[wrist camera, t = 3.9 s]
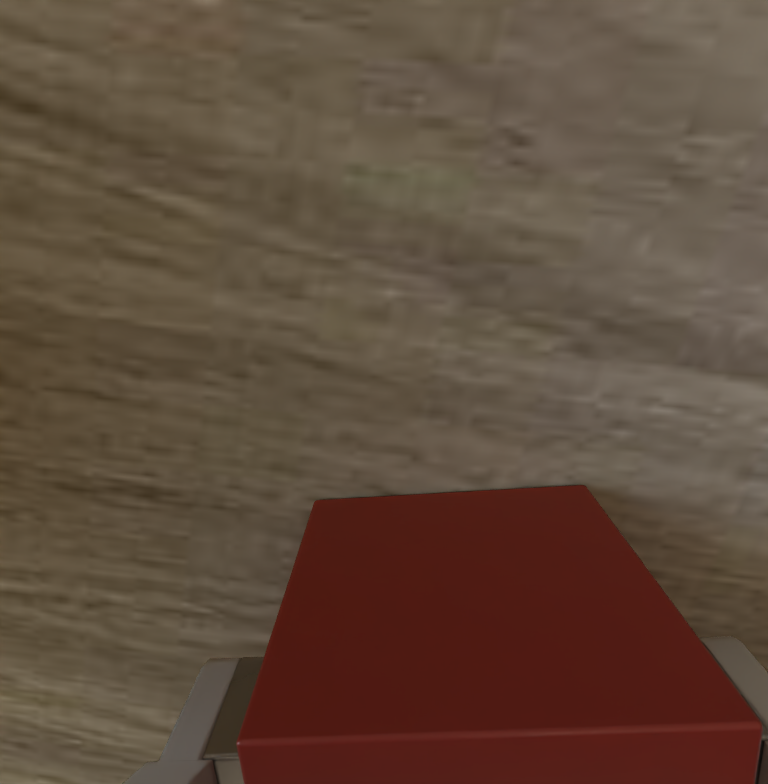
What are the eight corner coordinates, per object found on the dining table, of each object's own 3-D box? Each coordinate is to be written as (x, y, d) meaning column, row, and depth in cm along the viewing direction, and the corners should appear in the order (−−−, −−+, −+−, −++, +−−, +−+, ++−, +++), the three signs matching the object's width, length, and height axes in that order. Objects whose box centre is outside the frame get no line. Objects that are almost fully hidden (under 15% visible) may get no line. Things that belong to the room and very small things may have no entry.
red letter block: (313, 498, 9) (231, 751, 5) (585, 483, 9) (772, 732, 4) (341, 710, 10) (296, 1068, 6) (578, 701, 10) (720, 1067, 6)
